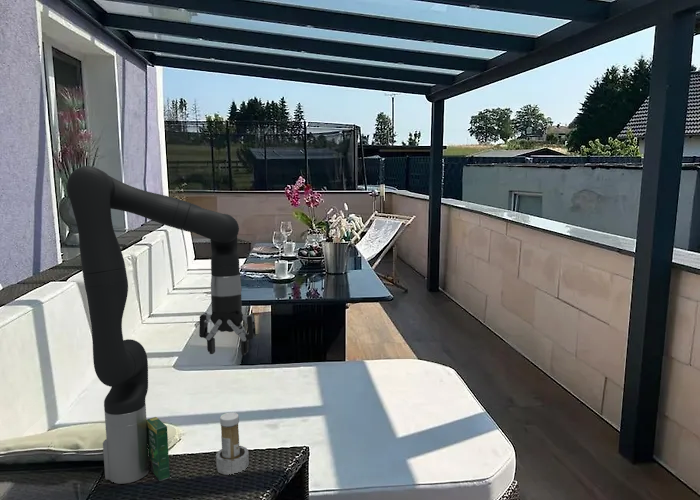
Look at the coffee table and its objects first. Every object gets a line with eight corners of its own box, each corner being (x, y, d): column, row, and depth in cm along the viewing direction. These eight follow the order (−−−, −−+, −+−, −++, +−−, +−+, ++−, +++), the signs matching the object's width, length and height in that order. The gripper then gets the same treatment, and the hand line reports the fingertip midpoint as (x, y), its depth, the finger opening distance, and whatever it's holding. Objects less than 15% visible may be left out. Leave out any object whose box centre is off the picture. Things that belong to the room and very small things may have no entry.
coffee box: (148, 468, 130) (145, 418, 128) (159, 464, 132) (157, 415, 130) (158, 482, 123) (155, 429, 122) (170, 477, 125) (167, 426, 124)
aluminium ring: (212, 474, 127) (211, 460, 126) (223, 457, 134) (222, 445, 134) (243, 475, 126) (242, 461, 126) (252, 459, 134) (251, 446, 133)
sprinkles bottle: (243, 467, 130) (241, 416, 128) (225, 473, 127) (223, 421, 126) (236, 459, 133) (234, 410, 132) (219, 465, 131) (217, 414, 129)
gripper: (193, 294, 128) (196, 357, 130) (248, 295, 127) (250, 359, 129) (205, 289, 136) (207, 348, 138) (257, 289, 134) (259, 350, 136)
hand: (228, 353), depth 133 cm, fingers open, 8 cm apart
